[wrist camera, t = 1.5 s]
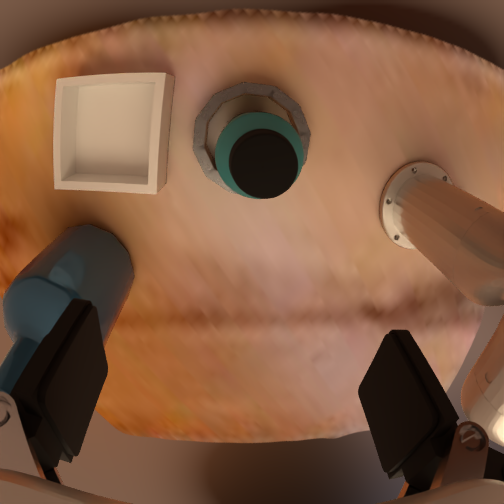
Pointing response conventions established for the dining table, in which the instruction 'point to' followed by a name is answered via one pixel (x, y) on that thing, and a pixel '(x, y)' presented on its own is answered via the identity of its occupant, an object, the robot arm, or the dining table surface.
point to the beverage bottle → (259, 155)
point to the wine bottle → (63, 291)
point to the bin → (112, 132)
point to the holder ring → (229, 94)
